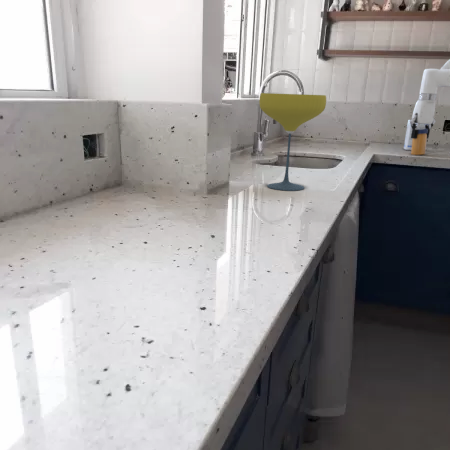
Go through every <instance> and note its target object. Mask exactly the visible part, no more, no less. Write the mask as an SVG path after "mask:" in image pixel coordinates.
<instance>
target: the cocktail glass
mask: <svg viewBox="0 0 450 450" xmlns="http://www.w3.org/2000/svg"><path fill="white" fill-rule="evenodd" d="M258 100H259V101H258V104H259V108H260V110H261V111H262V112H263V113H264V114H265V115H267V116H268V117H270V118H271V119H273V120H274V121H276V122H277V123H278V124H280V125H281V126H282V127H283V129H284V131H285V133H287V134H288V139H287V150H286V162H285V173H284V177H283V180H282V181H281V182H273V183H268V184H267V185H266V186H267V188H269V189H272V190H276V191H285V192H286V191H288V192H296V191H304V189H305V186H304V185H301V184H297V183H292V182H290V179H289V167H290V166H289V165H290V153H291V152H290V151H291V138H292V134H294V133H295V132H296V131H297V129H298V128H299V127H300V126H301V125H303V124H305V123H307V122H309V121H311V120H313V119H314V118H316V117H318V116H320V114H322V113H323V112H324V111H325V110H326V106H327V95H326V94H302V93H301V94H300V93H299V94H298V93H274V92H273V93H272V92H271V93H270V92H260V95H259V99H258Z"/></svg>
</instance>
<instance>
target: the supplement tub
mask: <svg viewBox="0 0 450 450" xmlns="http://www.w3.org/2000/svg"><path fill="white" fill-rule="evenodd" d="M410 120H411V119H408V120H407V123H406V124H407V125H406V129H405V135H404V136H405V137H404V143H403V150H404V151H411V148H412V138H411V134H412V129H411V128H412V127H411V124H410ZM416 126H417V125H416ZM418 129H425V125H424V124H420V125H419V127H418Z"/></svg>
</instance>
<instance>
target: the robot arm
mask: <svg viewBox="0 0 450 450" xmlns="http://www.w3.org/2000/svg"><path fill="white" fill-rule="evenodd" d="M439 88H450V58H449V59H448V60H447V61H446V62H444V64H443V65H442V66H441V67H440V68H425V69H424V70H423V72H422V77H421V83H420V87H419V94H418V99H417V101H416V103H415V105H414V108H413V112H412V115H411V118H410V119H409V120H410V124H411V127H412V128H411V129H412V134H411V138H414V139H417V135H418V130H417V129H418V127H419V125H420V124H424V125H425V129H428V133H426V134H427V139H428V140H429V137H430V132H431V130H432V128H433V127H434V125H435V124H436V122H437V121H436V118H435V114H436V99H437V94H438V89H439ZM416 125H417V126H416Z"/></svg>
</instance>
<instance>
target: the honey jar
mask: <svg viewBox="0 0 450 450" xmlns="http://www.w3.org/2000/svg"><path fill="white" fill-rule="evenodd" d="M426 148H427V134H426V133H425V134H418V135H417V139H414V138H412V148H411V150H410V155H414V156H416V155H417V156H419V155H426V150H427V149H426Z"/></svg>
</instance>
